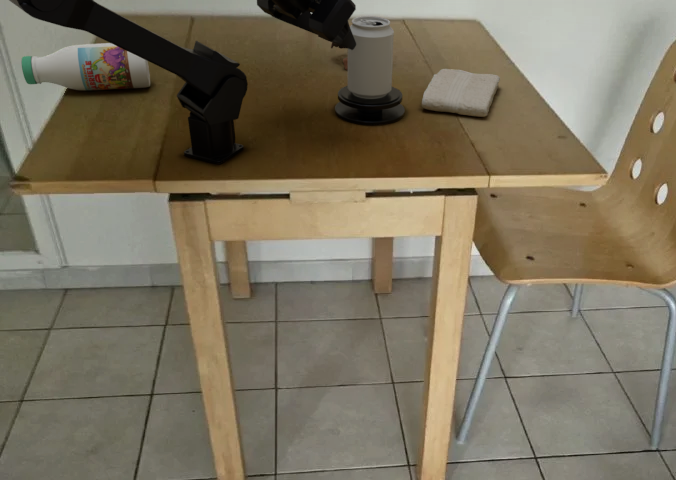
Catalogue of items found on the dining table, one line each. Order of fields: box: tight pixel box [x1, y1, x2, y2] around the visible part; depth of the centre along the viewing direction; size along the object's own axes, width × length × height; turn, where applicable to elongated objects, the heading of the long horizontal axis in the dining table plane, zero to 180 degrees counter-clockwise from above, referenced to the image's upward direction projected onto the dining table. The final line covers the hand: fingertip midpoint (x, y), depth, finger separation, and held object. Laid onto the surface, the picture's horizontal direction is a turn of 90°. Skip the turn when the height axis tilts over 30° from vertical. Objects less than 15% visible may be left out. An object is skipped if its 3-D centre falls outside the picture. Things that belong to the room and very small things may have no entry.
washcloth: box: [421, 68, 501, 118], centre depth 129 cm, size 12×18×3 cm, turn 167°
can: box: [347, 15, 395, 99], centre depth 117 cm, size 8×8×12 cm
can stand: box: [334, 85, 406, 126], centre depth 122 cm, size 12×12×3 cm
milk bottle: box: [21, 42, 151, 91], centre depth 124 cm, size 8×8×20 cm
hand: (336, 39), depth 112 cm, fingers open, 9 cm apart
